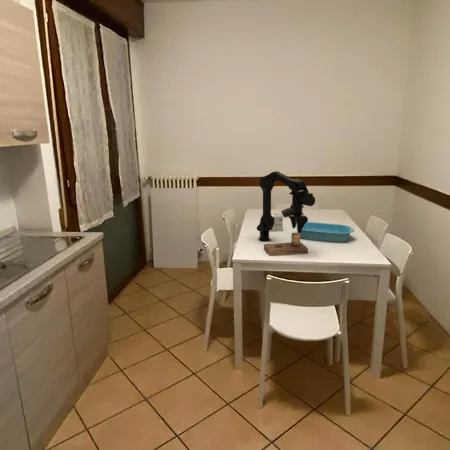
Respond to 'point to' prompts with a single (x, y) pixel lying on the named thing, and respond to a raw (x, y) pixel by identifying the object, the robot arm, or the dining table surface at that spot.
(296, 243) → the oak peg
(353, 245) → the dining table surface
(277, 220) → the light bulb box
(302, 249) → the walnut board
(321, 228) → the casserole dish
